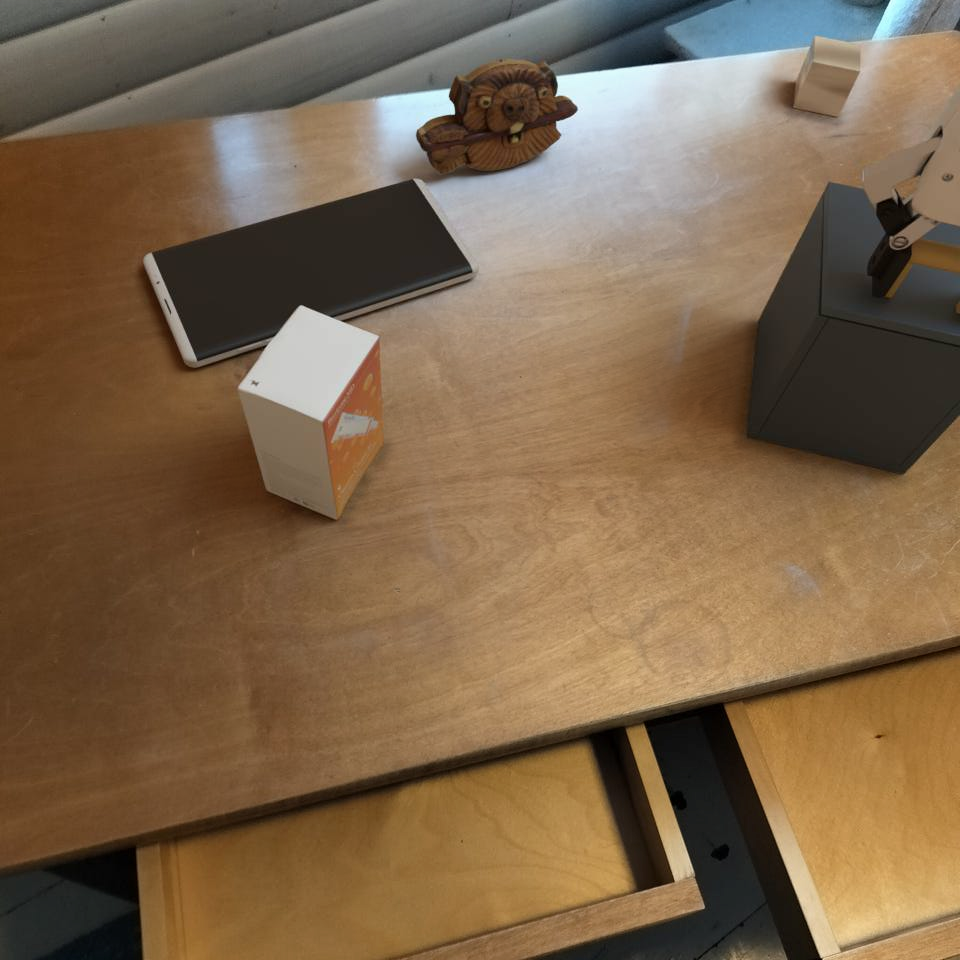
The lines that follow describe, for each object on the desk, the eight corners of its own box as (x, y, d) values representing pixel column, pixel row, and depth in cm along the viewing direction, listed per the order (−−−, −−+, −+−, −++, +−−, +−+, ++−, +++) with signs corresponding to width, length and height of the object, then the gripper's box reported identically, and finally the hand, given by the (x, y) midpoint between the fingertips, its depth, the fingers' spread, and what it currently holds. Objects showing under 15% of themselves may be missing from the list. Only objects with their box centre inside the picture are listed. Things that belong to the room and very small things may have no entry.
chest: (904, 474, 69) (1012, 359, 57) (745, 436, 70) (817, 315, 58) (902, 354, 76) (998, 227, 64) (757, 321, 77) (823, 190, 65)
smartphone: (481, 279, 78) (482, 266, 76) (189, 375, 70) (184, 362, 69) (420, 188, 83) (420, 173, 82) (144, 267, 76) (139, 252, 74)
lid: (1018, 359, 56) (1072, 299, 52) (820, 314, 57) (856, 252, 52) (999, 227, 64) (1044, 165, 59) (824, 189, 64) (855, 126, 60)
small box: (338, 523, 64) (322, 424, 53) (264, 491, 65) (233, 387, 54) (387, 442, 68) (381, 333, 57) (316, 413, 69) (297, 301, 58)
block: (795, 81, 97) (814, 35, 92) (839, 90, 96) (861, 44, 91) (793, 108, 94) (812, 61, 89) (838, 117, 94) (860, 71, 89)
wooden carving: (432, 199, 83) (434, 108, 74) (412, 170, 85) (412, 78, 76) (577, 156, 87) (594, 65, 79) (554, 129, 89) (569, 38, 81)
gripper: (1281, 28, 43) (1052, 283, 58) (936, -40, 44) (801, 228, 59) (1322, 118, 39) (1065, 366, 54) (943, 41, 40) (796, 305, 55)
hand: (928, 292), depth 57 cm, fingers closed on lid, 6 cm apart
